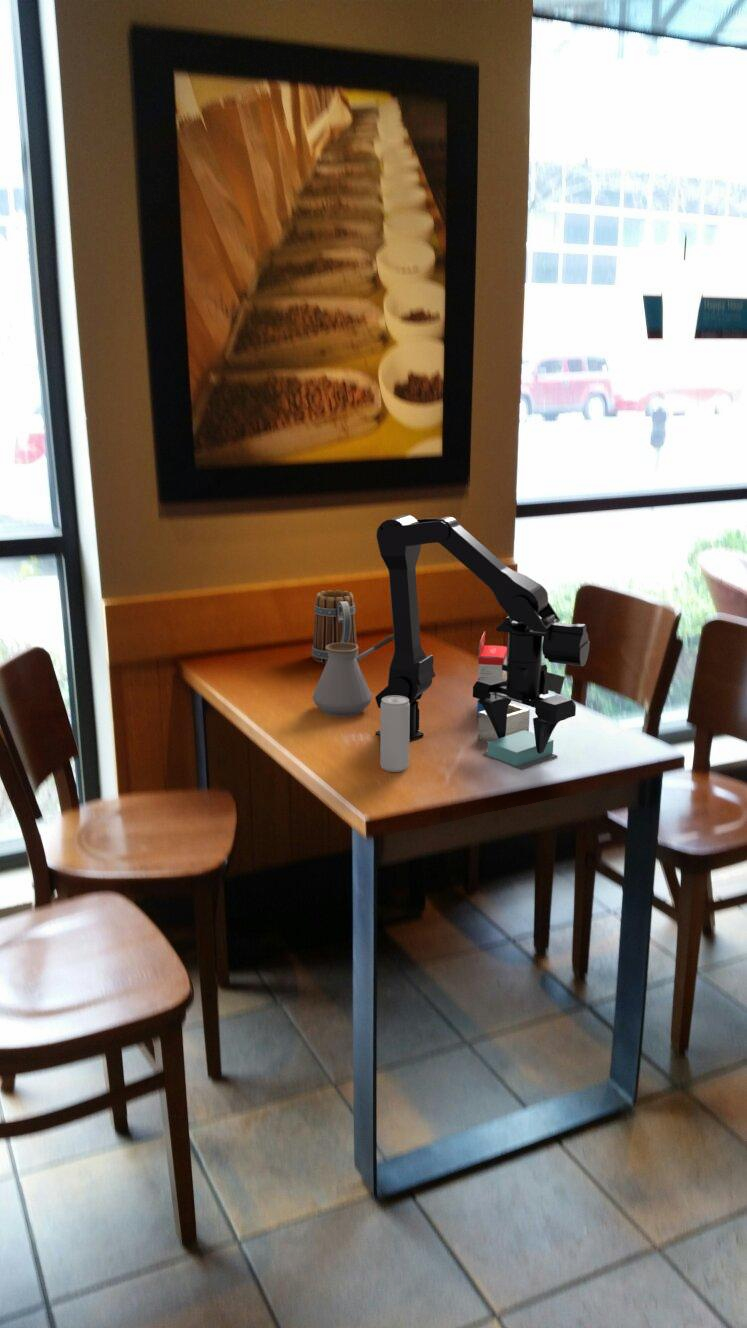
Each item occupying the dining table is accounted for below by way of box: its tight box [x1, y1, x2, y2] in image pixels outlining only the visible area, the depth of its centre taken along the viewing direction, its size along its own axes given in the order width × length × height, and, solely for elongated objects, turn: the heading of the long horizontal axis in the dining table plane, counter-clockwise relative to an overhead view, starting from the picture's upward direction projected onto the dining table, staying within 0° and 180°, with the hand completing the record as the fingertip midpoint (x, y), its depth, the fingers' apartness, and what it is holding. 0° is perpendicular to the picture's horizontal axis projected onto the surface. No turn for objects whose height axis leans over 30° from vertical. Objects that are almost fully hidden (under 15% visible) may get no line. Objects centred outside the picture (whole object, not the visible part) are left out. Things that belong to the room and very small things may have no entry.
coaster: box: [482, 751, 558, 771], centre depth 186 cm, size 9×9×1 cm
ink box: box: [476, 631, 508, 715], centre depth 209 cm, size 8×5×15 cm, turn 169°
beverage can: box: [379, 695, 410, 773], centre depth 180 cm, size 5×5×12 cm
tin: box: [477, 702, 531, 743], centre depth 195 cm, size 8×5×5 cm, turn 131°
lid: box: [486, 730, 554, 766], centre depth 186 cm, size 9×7×2 cm
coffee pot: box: [312, 633, 394, 718], centre depth 210 cm, size 21×12×15 cm, turn 121°
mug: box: [311, 589, 359, 665], centre depth 241 cm, size 16×11×15 cm
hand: (520, 746), depth 186 cm, fingers open, 8 cm apart
